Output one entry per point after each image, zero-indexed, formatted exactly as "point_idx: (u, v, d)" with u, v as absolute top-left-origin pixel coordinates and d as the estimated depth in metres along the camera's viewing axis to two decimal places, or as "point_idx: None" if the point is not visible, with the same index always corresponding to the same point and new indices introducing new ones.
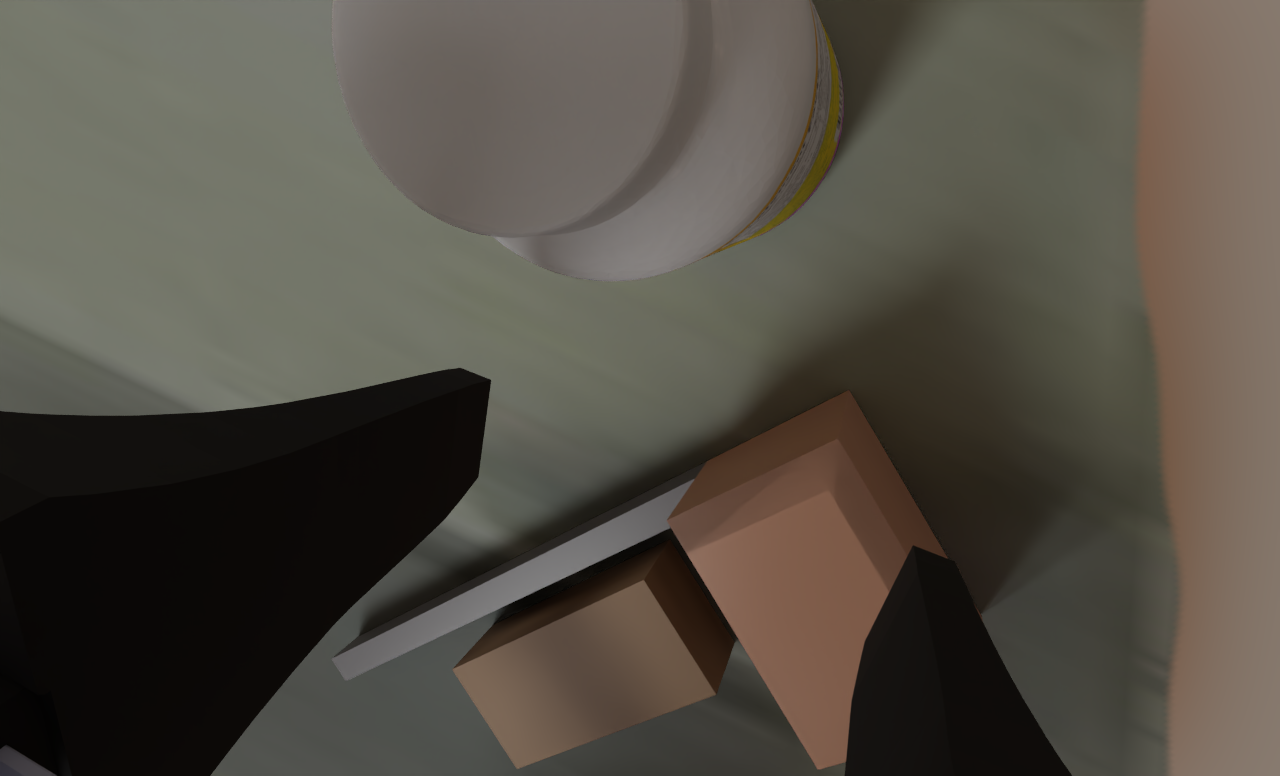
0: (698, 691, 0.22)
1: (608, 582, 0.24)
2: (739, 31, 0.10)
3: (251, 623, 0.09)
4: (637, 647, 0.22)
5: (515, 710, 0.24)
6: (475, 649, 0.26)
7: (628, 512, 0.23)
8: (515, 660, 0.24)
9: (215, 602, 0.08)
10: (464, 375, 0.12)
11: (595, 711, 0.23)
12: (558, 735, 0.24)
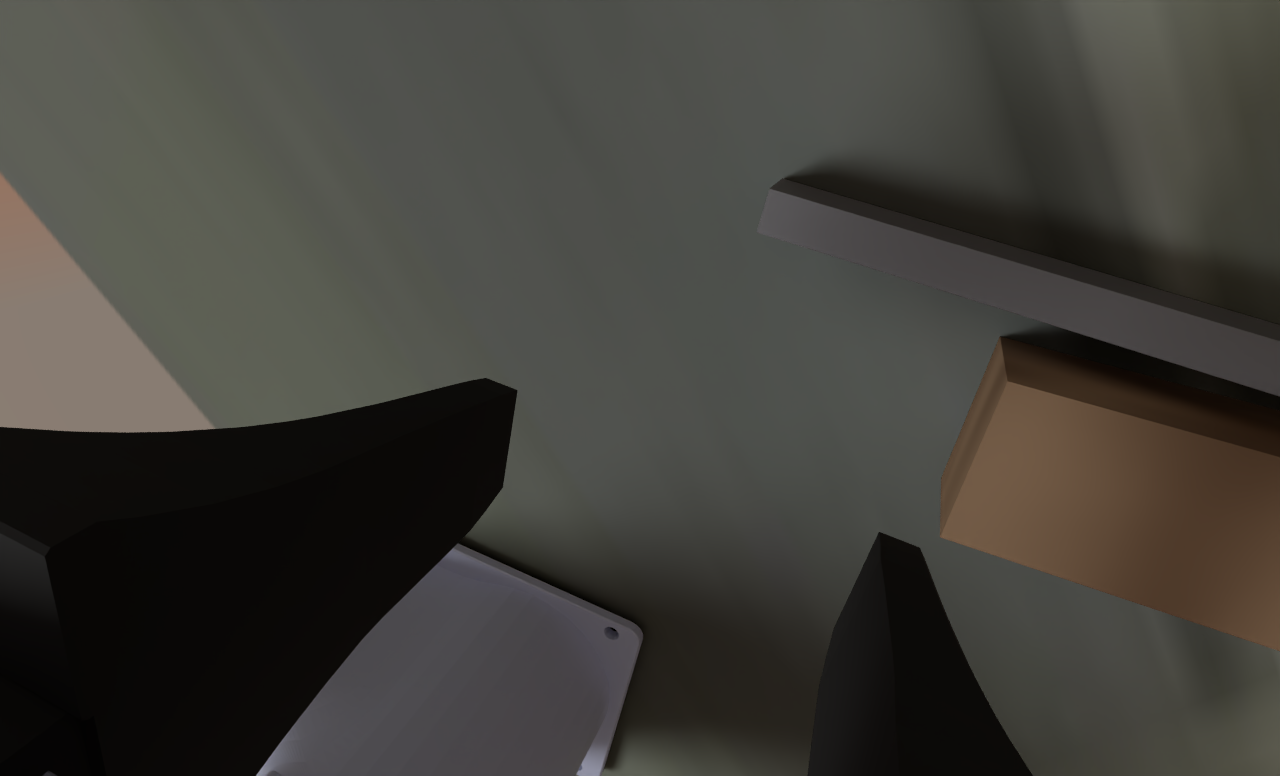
0: None
1: None
2: None
3: (285, 640, 0.09)
4: None
5: (1035, 488, 0.16)
6: (1028, 371, 0.16)
7: None
8: (1124, 444, 0.15)
9: (252, 621, 0.08)
10: (491, 385, 0.12)
11: (1151, 572, 0.16)
12: (1058, 552, 0.16)
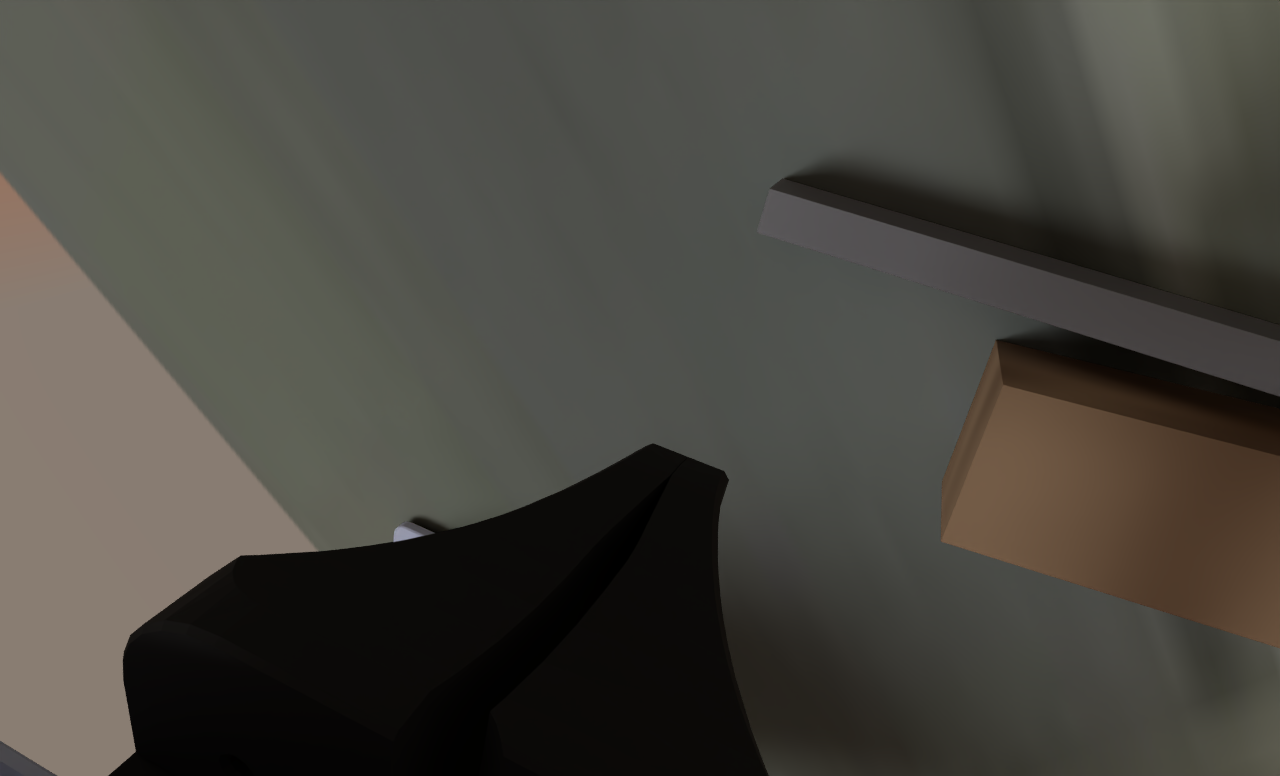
0: None
1: None
2: None
3: None
4: None
5: (1034, 491, 0.16)
6: (1024, 374, 0.16)
7: None
8: (1122, 445, 0.15)
9: None
10: (663, 453, 0.11)
11: (1153, 572, 0.16)
12: (1059, 554, 0.16)
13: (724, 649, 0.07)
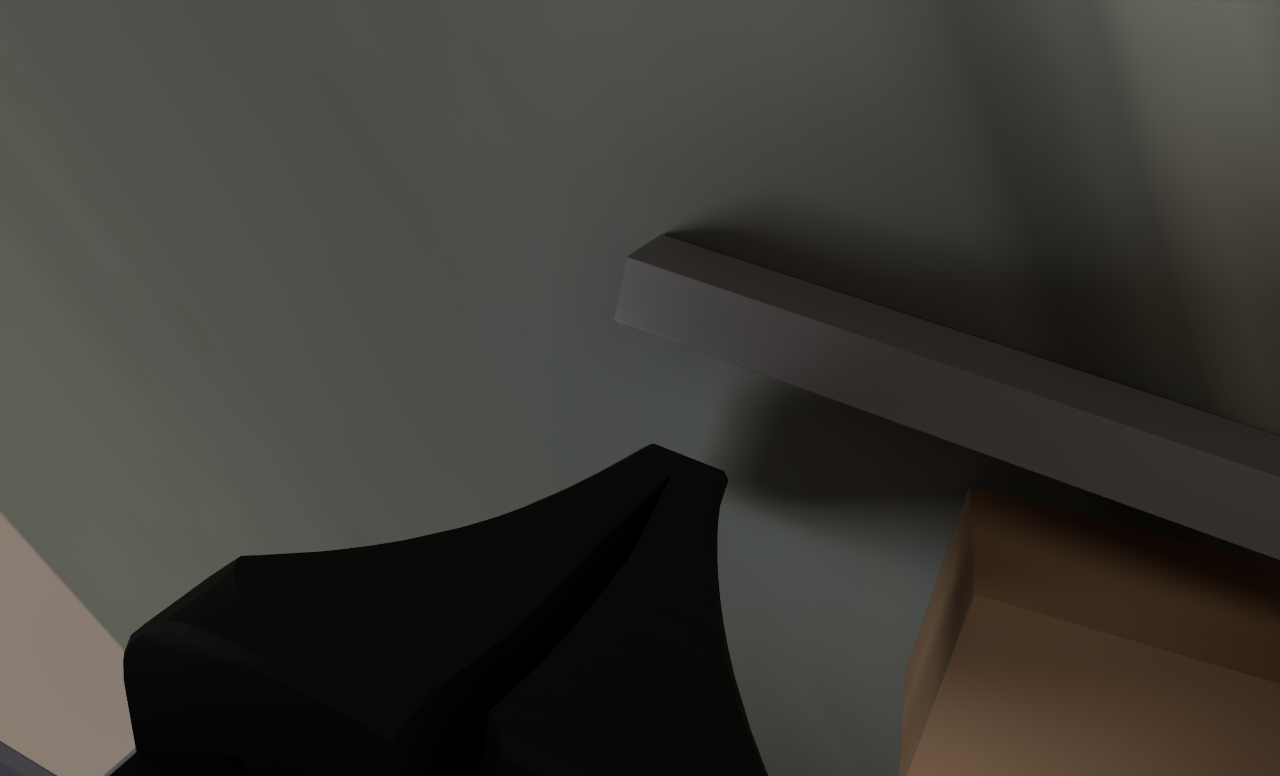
0: None
1: None
2: None
3: None
4: None
5: (1034, 748, 0.10)
6: (1009, 563, 0.10)
7: None
8: (1172, 695, 0.09)
9: None
10: (663, 453, 0.11)
11: None
12: None
13: (724, 649, 0.07)
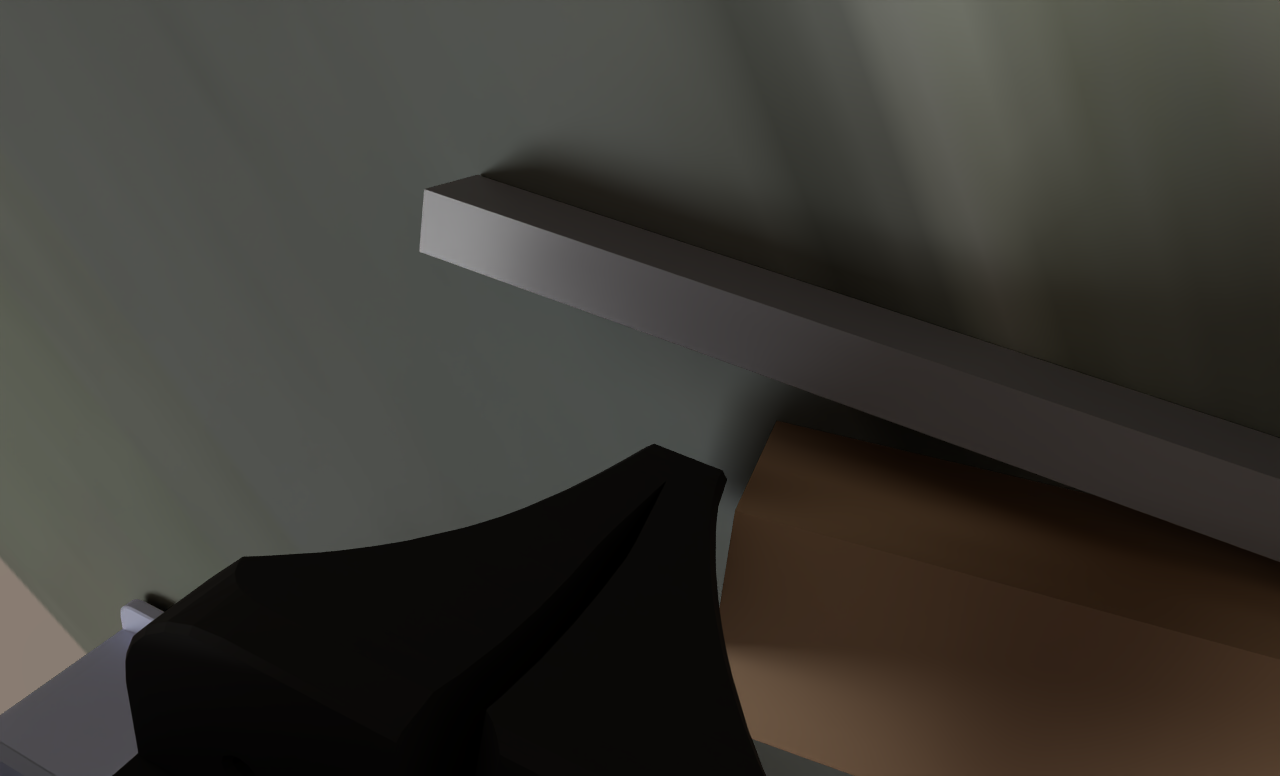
0: None
1: (1227, 584, 0.09)
2: None
3: None
4: None
5: (806, 659, 0.11)
6: (781, 486, 0.11)
7: None
8: (912, 599, 0.10)
9: None
10: (665, 454, 0.11)
11: None
12: (856, 746, 0.11)
13: (721, 648, 0.07)
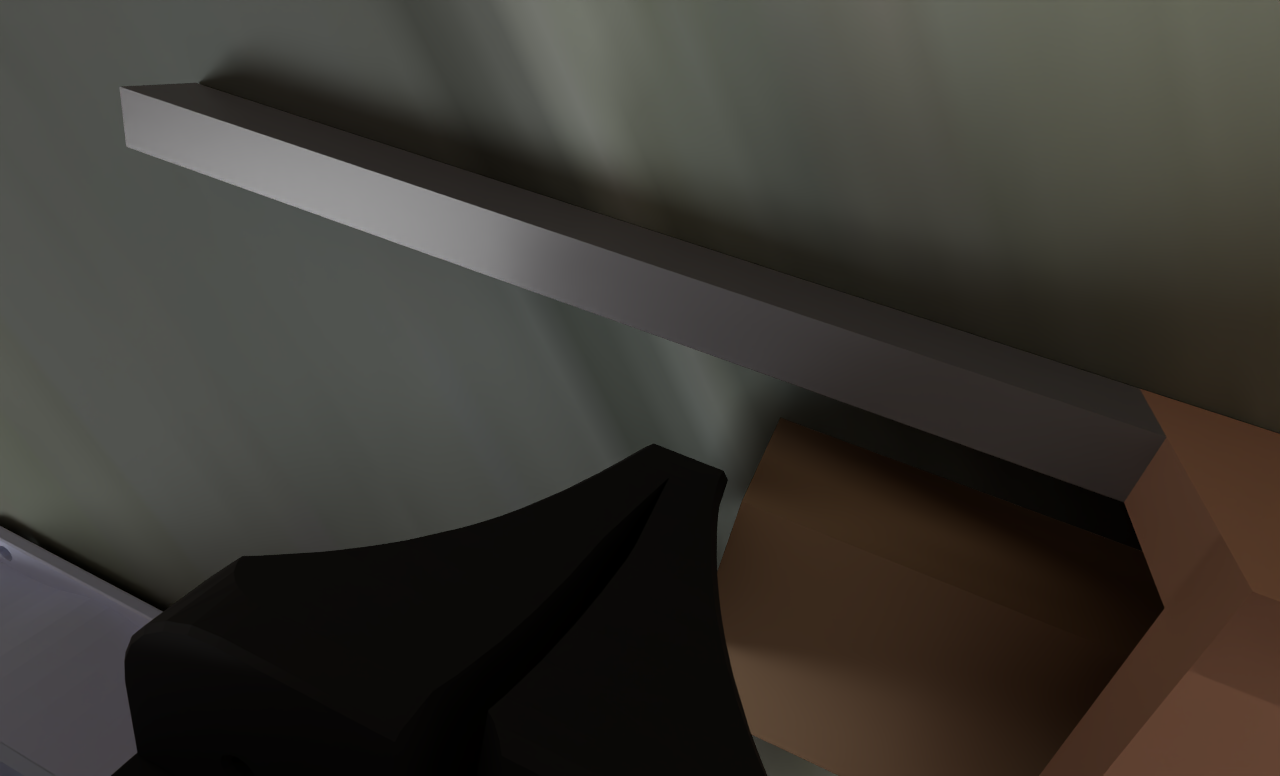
0: None
1: None
2: None
3: None
4: None
5: (788, 651, 0.11)
6: (787, 481, 0.11)
7: (958, 369, 0.10)
8: (902, 606, 0.10)
9: None
10: (664, 454, 0.11)
11: None
12: (823, 738, 0.11)
13: (722, 648, 0.07)
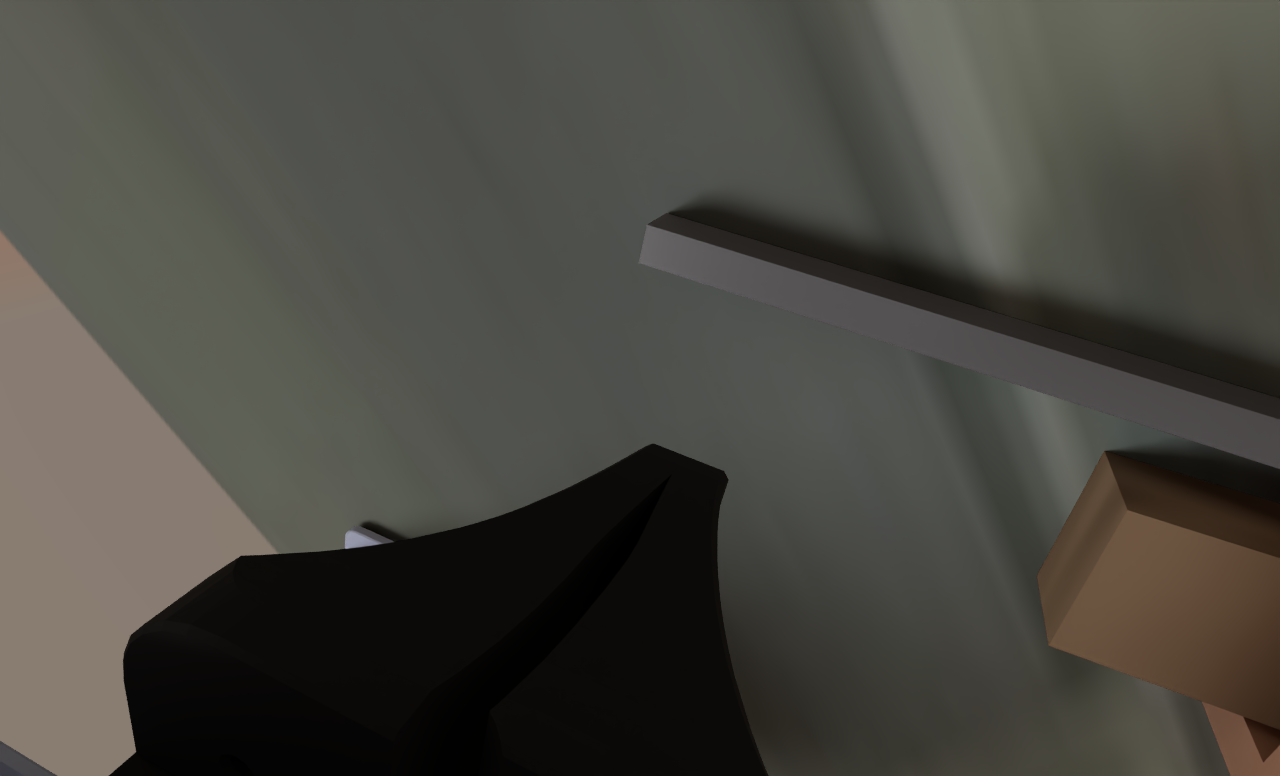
0: None
1: None
2: None
3: None
4: None
5: (1147, 607, 0.17)
6: (1142, 495, 0.16)
7: None
8: (1240, 573, 0.16)
9: None
10: (663, 453, 0.11)
11: (1259, 689, 0.16)
12: (1166, 666, 0.17)
13: (723, 648, 0.07)
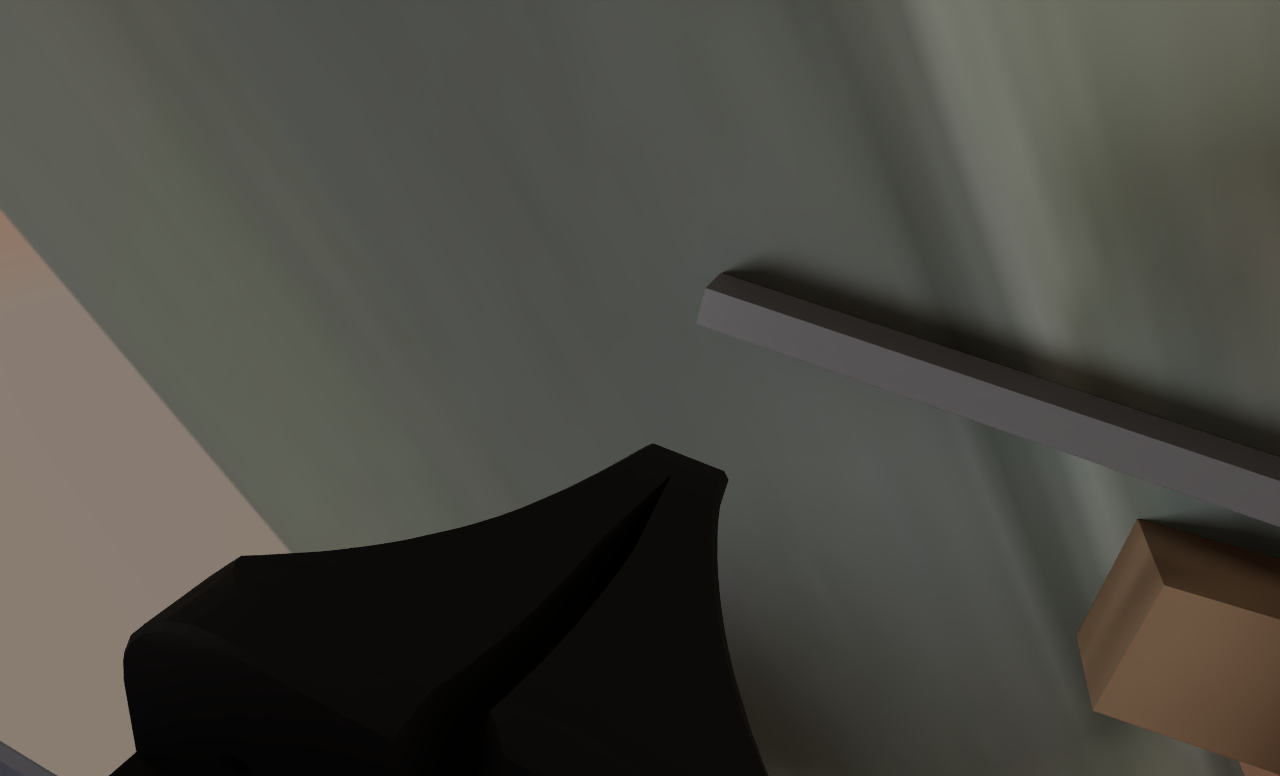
0: None
1: None
2: None
3: None
4: None
5: (1188, 675, 0.17)
6: (1177, 568, 0.17)
7: None
8: (1276, 643, 0.16)
9: None
10: (663, 453, 0.11)
11: None
12: (1208, 730, 0.18)
13: (724, 649, 0.07)
